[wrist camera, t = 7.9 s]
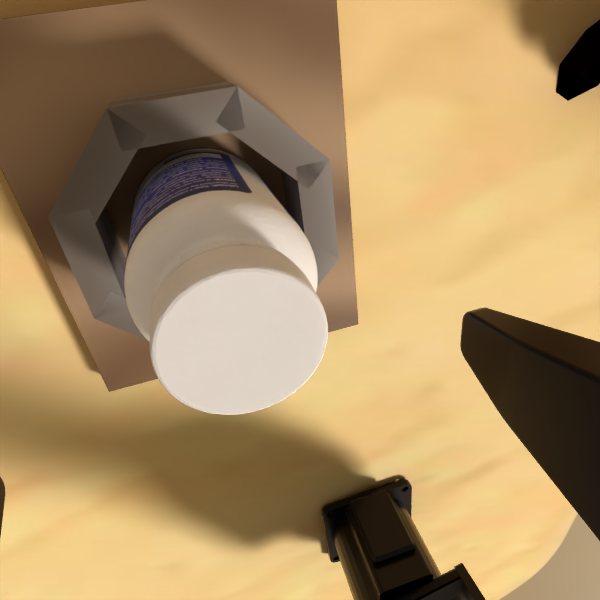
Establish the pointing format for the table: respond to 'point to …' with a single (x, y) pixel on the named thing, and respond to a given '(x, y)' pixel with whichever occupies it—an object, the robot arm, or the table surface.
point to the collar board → (170, 138)
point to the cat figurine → (581, 65)
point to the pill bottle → (222, 285)
